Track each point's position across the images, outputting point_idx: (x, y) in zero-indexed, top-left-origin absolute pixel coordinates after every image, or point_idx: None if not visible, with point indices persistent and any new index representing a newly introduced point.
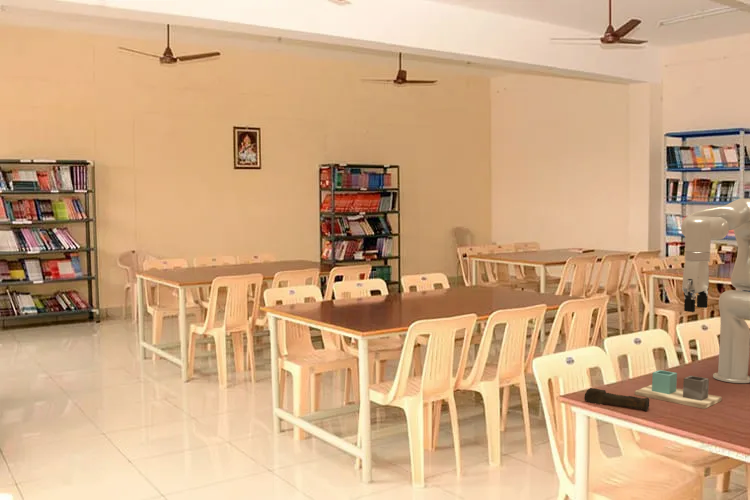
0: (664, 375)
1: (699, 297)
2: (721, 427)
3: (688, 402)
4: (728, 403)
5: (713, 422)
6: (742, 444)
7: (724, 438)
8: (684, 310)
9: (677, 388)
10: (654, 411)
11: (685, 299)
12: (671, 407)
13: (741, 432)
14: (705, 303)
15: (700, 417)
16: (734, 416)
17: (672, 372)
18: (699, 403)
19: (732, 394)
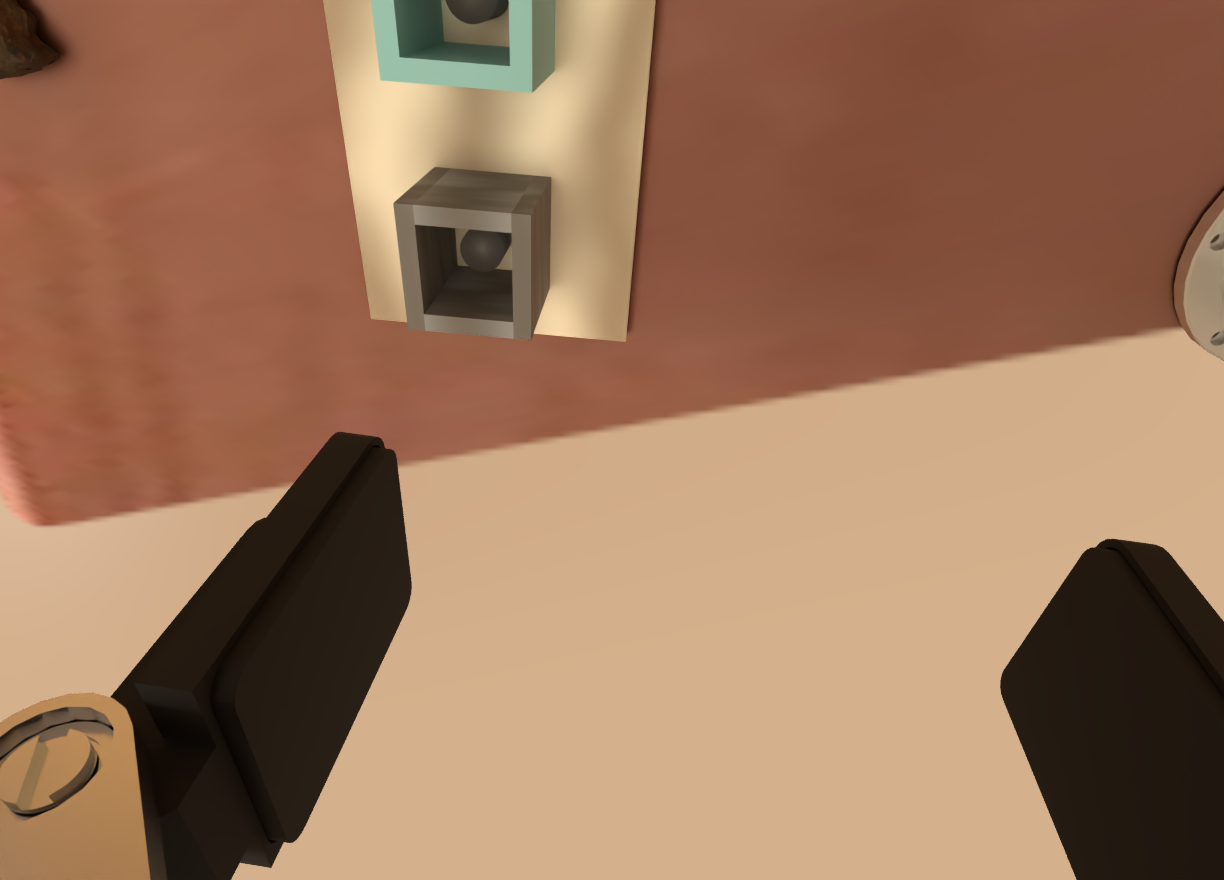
0: (376, 25)
1: (1211, 831)
2: (165, 435)
3: (359, 229)
4: (595, 370)
5: (199, 397)
6: (53, 524)
7: (47, 472)
8: (338, 435)
9: (650, 46)
10: (66, 108)
11: (163, 685)
12: (241, 158)
13: (181, 498)
14: (1041, 763)
15: (215, 335)
16: None
17: (520, 50)
18: (376, 289)
19: (826, 341)
